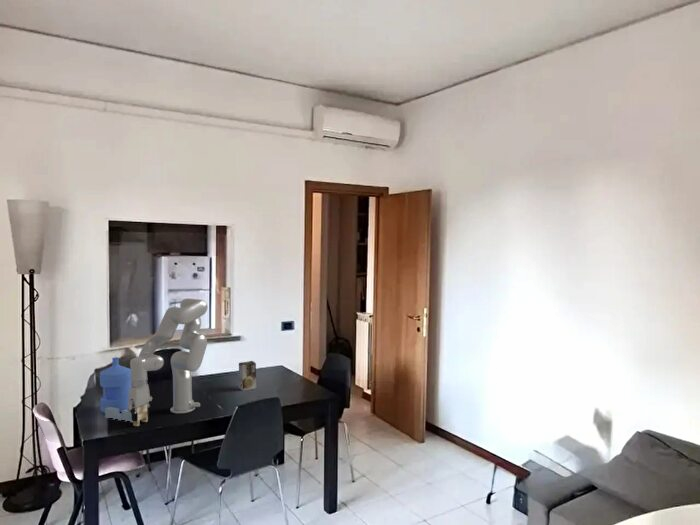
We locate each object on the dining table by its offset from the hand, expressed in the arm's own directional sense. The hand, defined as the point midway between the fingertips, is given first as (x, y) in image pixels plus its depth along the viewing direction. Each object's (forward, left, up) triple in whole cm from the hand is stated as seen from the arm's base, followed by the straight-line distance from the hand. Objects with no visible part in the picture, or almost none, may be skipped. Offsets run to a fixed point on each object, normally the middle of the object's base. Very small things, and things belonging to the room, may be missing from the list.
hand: (140, 417), depth 252 cm
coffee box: (-46, -57, -3) cm, 73 cm away
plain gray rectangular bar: (+12, -8, -3) cm, 15 cm away
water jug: (+20, -24, -3) cm, 31 cm away
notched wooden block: (0, 0, -3) cm, 3 cm away
